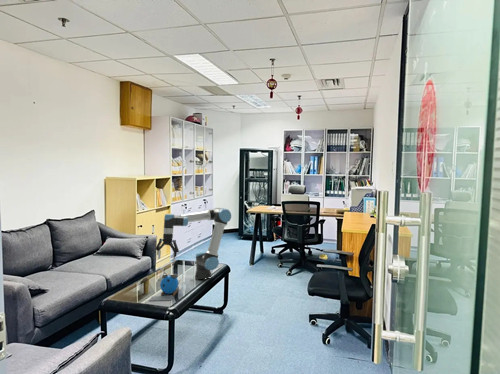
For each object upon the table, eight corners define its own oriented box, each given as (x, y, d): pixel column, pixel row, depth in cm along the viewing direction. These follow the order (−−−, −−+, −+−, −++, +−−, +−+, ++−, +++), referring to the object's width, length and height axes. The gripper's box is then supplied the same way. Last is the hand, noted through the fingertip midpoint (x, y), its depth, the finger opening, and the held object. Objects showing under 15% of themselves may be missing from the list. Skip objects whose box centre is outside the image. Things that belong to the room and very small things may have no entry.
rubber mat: (173, 296, 254) (173, 295, 254) (170, 300, 246) (170, 299, 246) (152, 297, 254) (152, 296, 254) (148, 301, 246) (148, 300, 246)
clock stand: (178, 289, 270) (178, 286, 270) (174, 296, 255) (173, 293, 255) (166, 289, 270) (166, 286, 270) (161, 296, 255) (160, 293, 255)
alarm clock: (179, 291, 264) (178, 272, 264) (177, 293, 258) (176, 274, 258) (162, 291, 265) (161, 273, 264) (160, 294, 258) (159, 275, 258)
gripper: (152, 232, 268) (150, 258, 267) (179, 235, 260) (177, 262, 259) (157, 231, 275) (155, 257, 274) (184, 234, 267) (182, 260, 266)
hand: (166, 259), depth 266 cm, fingers open, 13 cm apart
